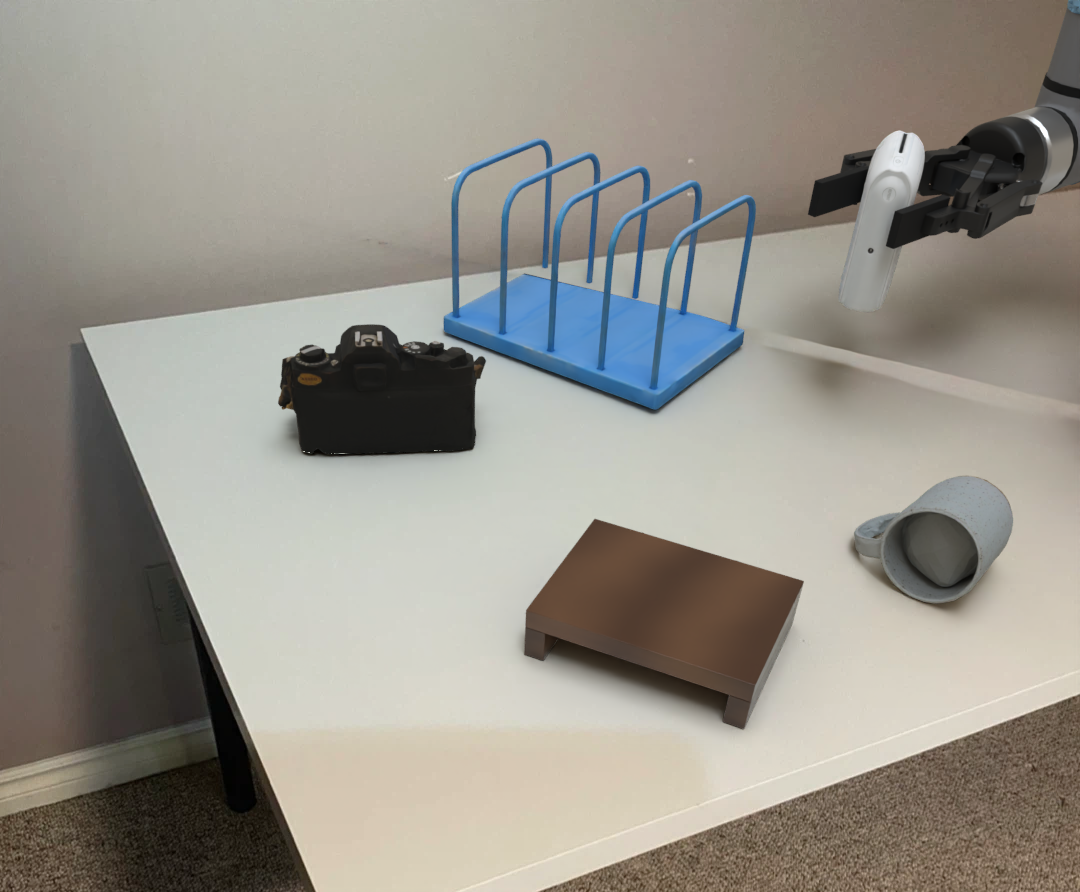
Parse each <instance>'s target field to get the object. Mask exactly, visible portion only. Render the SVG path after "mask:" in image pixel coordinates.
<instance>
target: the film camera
mask: <svg viewBox="0 0 1080 892" xmlns="http://www.w3.org/2000/svg"><path fill="white" fill-rule="evenodd" d="M486 362H487V359H486V358H485V357H484V356H482V355H481V356H478V357H477V358H476V359H474V354H472V353H470V352H467V351H466V349H464V348H463V347H458V346H451V347H449V348H446V349H445V344H444V342H440V341H437V340H434V341H431V342H429V343H426V342H424V341H413V340H412V341H409V342H406V343H403V344H401V343H400V341H399V338H398V335H397V334H396V333H394V331H392V330H391V329H390V328H389V327H388V326H387V325H383V324H375V323H374V324H371V323H370V324H355V325H351V326H349V327H347V329H346V330H344V332H342V333H341V335H340V341H339V344H338V345H336V346H335V349H334V352H326V349H325V348H323V347H321V346H319V345H315V344H305V345H304V346H302V347H300V348H299V352H297V353H296V354H295V355H291V356H286V357H285V358H282V360H281V371H280V372H281V373H280V376H281V379H280V384H279V388H280V394H279V396H278V401H277V404H278V406H279V407H281V410H283V411H284V410H286V409H287V410H291V411H293V412H294V413H295V417H296V425H297V432H298V433H297V434H298V444H299V447H300V450H301V449H302V450H301V452H302V451H305V452H310V453H314V452H315V451H316V450H319V451H320V452H321V453H323V454H325V455H327V454H331V453H332V454H334V453H356V454H355V455H359V454H358V453H365V454H367V453H369V454H371V453H372V454H374V453H377V454H384V453H383V452H387V453H386V454H389V453H388V452H400V453H403V452H404V453H405V452H406V453H419V452H418V451H422V452H426V451H434V450H438V451H439V450H443V451H442V452H453V451H452V450H456V451H464V449H465V450H470V449H469V448H471V449H473V448H475V444H476V443H475V442H476V438H477V429H476V418H475V417H476V386H477V382H478V380H479V379H482V374H483V371H484V368H485V365H486ZM474 443H475V444H474ZM461 449H462V450H461ZM446 450H447V451H446ZM439 452H440V451H439ZM334 455H335V454H334Z"/></svg>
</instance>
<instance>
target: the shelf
mask: <svg viewBox="0 0 1080 892" xmlns="http://www.w3.org/2000/svg"><path fill="white" fill-rule="evenodd" d="M804 584H805V581H804V580H802V579H799V578H795V577H792V576H789V575H786V574H782V573H778V572H775V571H772V570H769V569H765V568H761V567H759V566H755V565H752V564H748V563H745V562H743V561H742V562H741V561H739V560H735V559H732V558H728V557H725V556H721V555H718V554H715V553H712V552H708V551H704V550H702V549H698V548H695V547H691V546H688V545H685V544H681V543H678V542H674V541H671V540H668V539H664V538H662V537H658V536H655V535H651V534H648V533H644V532H642V531H638V530H634V529H632V528H628V527H625V526H621V525H618V524H614V523H611V522H608V521H604V520H600V519H599V518H594V519H593V520H592V521H591V523H590V524H589V526H587V528H586V530H585V531H584V532H583V534H582V535H581V536H580V537H579V539H578V540H577V542H576V543H574V546H572V548H571V550H570V551H569V552H568V553H567V555H566V556H565V557H564V559H563V560H562V562H561V563H560V564H559V565H558V566H557V568H556V570H555V571H554V572H553V574H551V576H550V577H549V579H548V580H547V582H546V583H545V584H544V585H543V587H542V588H541V590H540V591H539V592H538V594H536V596H535V597H534V599H533V600H532V601H531V602H530V604H529V605H528V607H527V608H526V609H525V625H524V649H523V654H524V655H526V656H528V657H531V658H534V659H536V660H540V661H543V662H544V660H545V659H546V658H547V656H548V655H549V654H550V652H551V651H552V649H553V648H554V646H555V645H556V644H557V642H558V640H559V639H560V640H564V641H567V642H569V643H572V644H576V645H579V646H582V647H585V648H587V649H590V650H594V651H597V652H598V653H599V652H600V653H603V654H606V655H607V656H608V655H609V656H612V657H614V658H618V659H621V660H623V661H627V662H629V663H632V664H635V665H639V666H641V667H643V668H644V667H645V668H648V669H651V670H653V671H657V672H659V673H663V674H666V675H668V676H672V677H674V678H677V679H679V680H680V679H681V680H683V681H687V682H688V683H689V682H690V683H692V684H696V685H698V686H702V687H704V688H707V689H710V690H713V691H716V692H719V693H722V694H725V695H728V697H727V701H726V704H725V705H726V706H725V709H724V715H723V718H722V723H724V724H728V725H730V726H733V727H736V728H740V729H742V730H744V729H746V726H747V724H748V722H749V720H750V718H751V715H752V713H753V711H754V708H755V707H756V705H757V702H758V700H759V698H760V697H761V696H760V695H761V694H762V691H763V689H764V687H765V685H766V683H767V681H768V678H769V676H770V673H771V672H772V669H773V667H774V665H775V663H776V661H777V658H778V657H779V654H780V652H781V650H782V647H783V645H784V643H785V641H786V639H787V637H788V635H789V632H790V630H791V628H792V626H793V623H794V620H795V615H796V613H797V609H798V605H799V601H800V598H801V595H802V591H803V587H804Z"/></svg>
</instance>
